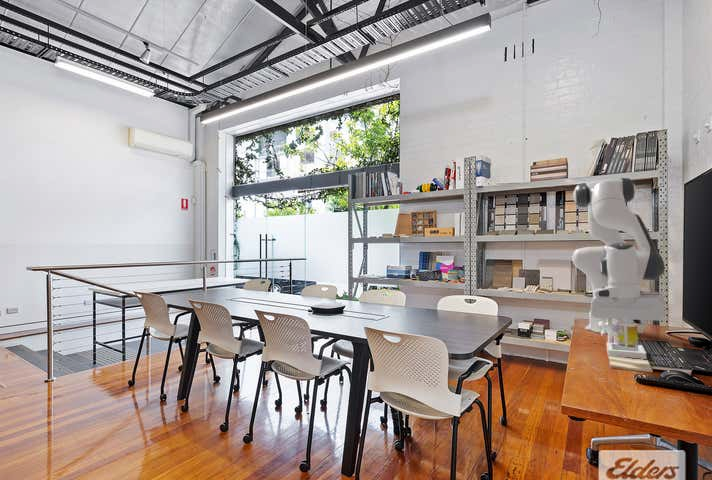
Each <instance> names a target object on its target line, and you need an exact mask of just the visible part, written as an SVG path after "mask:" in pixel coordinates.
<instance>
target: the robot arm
mask: <svg viewBox="0 0 712 480" xmlns="http://www.w3.org/2000/svg"><path fill="white" fill-rule="evenodd" d="M635 194H636V185H635V183H634V180H632V179H631V178H627V177H621V178H608V179H607V178H606V179H601V180H596V181H591V182H586V183H585V182H583V183H579V184H577V185H576V186H575V187H574V190H573V193H572V199H573V201H574V203H575V205H576V206H578V207H580V208H587V223H588V224H587V226H588V234H589V236H590V237H591V238H593V239H595V240H598V241H601V242H603V243H604V244H605V245H603V246H601V245H600V246H585V247H580V248H577V249H575V250H574V251H573V254H572V256H571V261H572V263H573V265H574V267H575V268H576V269H578V270H579V271H581V272H582V273H583V274H584V275H585V276H586V277H587V278H588V280H589V282H590V284H591V289H592V290H591V291H592V298H591V302H590V311H589V312H588V319H589V320H588V323H589V324H588V325H586V326H584V327H585V328H584V329H585V330H587V331H592V332H595V333H600V334H601V332H602V329H603V328H602V327H604V326H602V327H601V326H600V325H599V323H600V321H604V322H605V324H606V323H607V321H608V323H609V324H610V325H611V327H612V332H617V326H614V325H613V324H612V321H613V320H612V319H616V320H617V321H618V322H619V319H623V318H630V319H634V320H636V321H637V320H638V321H640V323H641V324H640V325H639V326H637V334H644V328H645V326H646V325H647V321H664V320H665V317H666V316H665V311H664V310H665V309H664V308H663V305H664V304H665V296H664V294H662V293H659V292H657V291H645V290H644V291H641V281H640V280H642V281H643V280H646V281H656V280H657V279H659V278H660V277H661V276H662V275H664V273H665V268H666V267H665V266H666V265H665V261H664V259H663V257H662V256H661V253H660V252H659V251H658V249H657V248H656V246H655V243H654V242H653V240H652V238H651V235H650V233H649V231H648V229H647V227H646V225H645V223H644V221H643V220H642V218H641V216H640V215H639V214H636V213H633V212H632V211H631V210H630V209H629V208H628V207H627V204H626V203H629V202H631V201H632V200H633V199H634V198H635ZM620 232H624V233H627V234H629V235H630V236H632V237H633V239H634V241H635V243H636V245H637V248H638V250H639V251H638V250H637V249H636V247H635V245H633V244H631V243H628V242H626V241H625V240H624V239H623V238H622V236H621V234H620ZM599 326H600V327H599ZM606 334H607V335H608V332H607V331H606V330H605V335H606Z"/></svg>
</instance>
